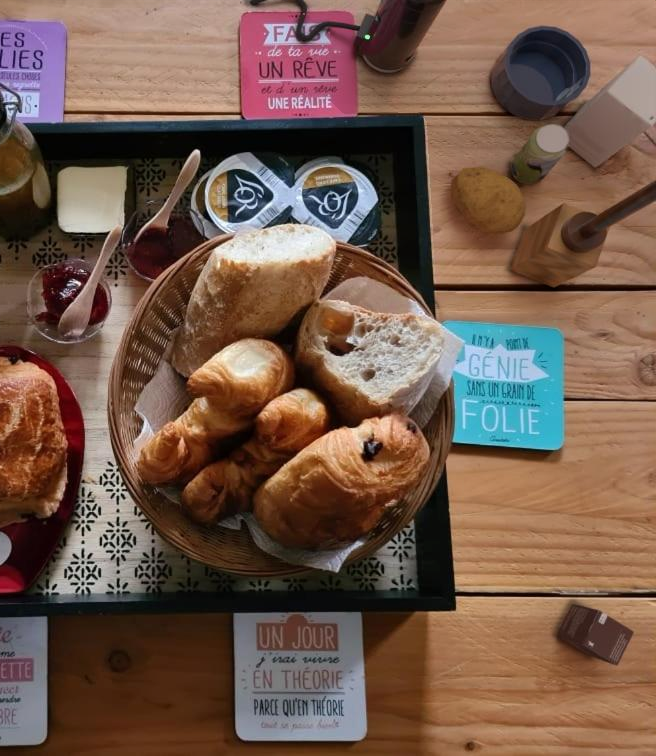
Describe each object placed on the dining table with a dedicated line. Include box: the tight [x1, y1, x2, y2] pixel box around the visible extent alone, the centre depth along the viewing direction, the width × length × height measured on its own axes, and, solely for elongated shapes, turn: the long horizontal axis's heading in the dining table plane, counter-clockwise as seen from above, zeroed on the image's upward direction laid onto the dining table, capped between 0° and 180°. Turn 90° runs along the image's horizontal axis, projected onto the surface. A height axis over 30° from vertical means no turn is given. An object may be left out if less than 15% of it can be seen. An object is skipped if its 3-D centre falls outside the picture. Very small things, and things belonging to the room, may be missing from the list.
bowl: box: [490, 25, 591, 121], centre depth 128 cm, size 15×15×6 cm
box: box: [556, 603, 635, 666], centre depth 114 cm, size 6×6×7 cm
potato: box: [450, 165, 527, 235], centre depth 123 cm, size 10×13×9 cm
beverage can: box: [510, 123, 570, 186], centre depth 123 cm, size 6×7×12 cm
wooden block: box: [509, 202, 611, 288], centre depth 120 cm, size 8×8×12 cm
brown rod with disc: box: [561, 179, 656, 253], centre depth 104 cm, size 6×6×22 cm
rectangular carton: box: [563, 54, 656, 168], centre depth 122 cm, size 9×9×15 cm
